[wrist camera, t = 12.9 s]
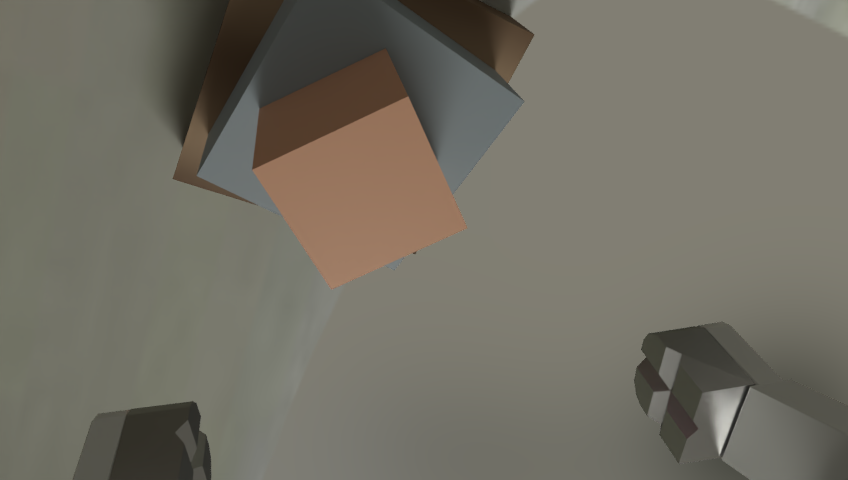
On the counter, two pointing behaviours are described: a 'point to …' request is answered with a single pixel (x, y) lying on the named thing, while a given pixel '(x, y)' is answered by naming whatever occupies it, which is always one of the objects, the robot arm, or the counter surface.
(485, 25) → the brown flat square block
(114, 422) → the robot arm
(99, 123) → the counter surface
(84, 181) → the counter surface
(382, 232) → the rust cube
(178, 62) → the counter surface
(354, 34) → the grey block
